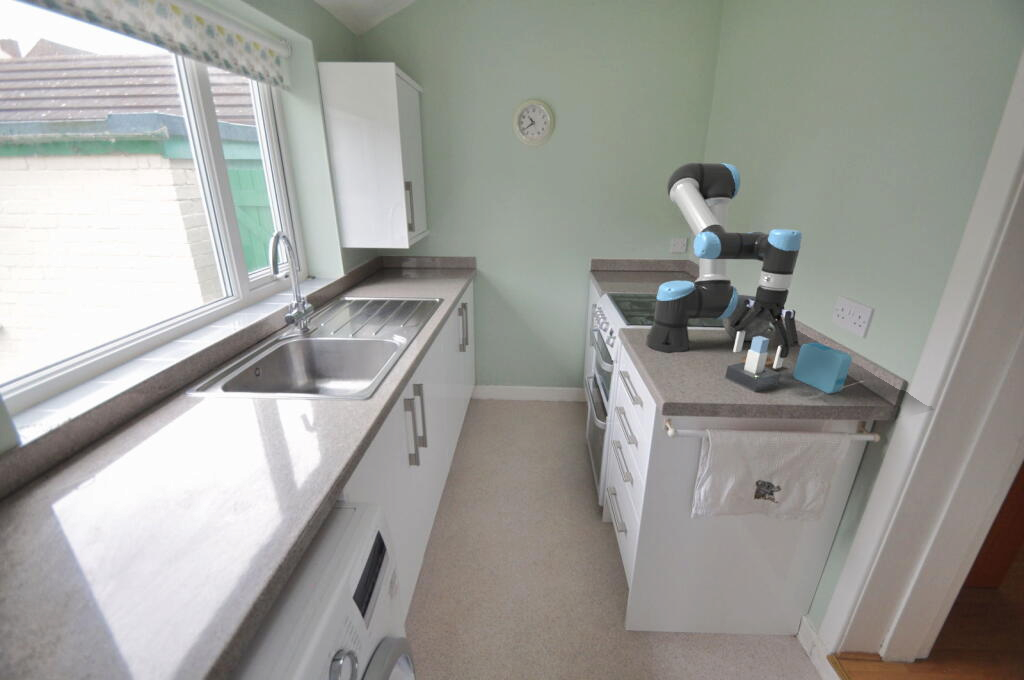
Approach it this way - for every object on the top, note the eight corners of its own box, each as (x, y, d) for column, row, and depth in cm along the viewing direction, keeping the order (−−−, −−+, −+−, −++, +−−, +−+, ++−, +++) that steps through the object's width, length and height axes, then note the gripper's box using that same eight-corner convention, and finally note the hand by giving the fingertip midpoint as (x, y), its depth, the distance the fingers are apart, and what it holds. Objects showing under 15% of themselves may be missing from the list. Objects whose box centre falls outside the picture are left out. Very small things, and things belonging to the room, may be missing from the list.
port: (724, 379, 132) (727, 364, 130) (746, 374, 136) (750, 359, 134) (754, 393, 123) (758, 378, 121) (777, 387, 127) (781, 372, 126)
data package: (841, 393, 124) (853, 355, 120) (830, 396, 123) (843, 357, 119) (801, 376, 135) (811, 340, 131) (791, 378, 133) (801, 342, 129)
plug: (742, 377, 130) (751, 336, 125) (750, 375, 131) (759, 335, 127) (752, 382, 127) (762, 341, 122) (761, 380, 128) (771, 339, 124)
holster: (740, 364, 143) (742, 356, 142) (757, 360, 146) (758, 352, 145) (763, 373, 136) (765, 365, 135) (779, 369, 139) (781, 361, 138)
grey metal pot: (707, 336, 168) (714, 299, 163) (727, 327, 179) (734, 292, 174) (755, 349, 156) (765, 309, 150) (773, 339, 167) (783, 301, 161)
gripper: (726, 279, 128) (712, 346, 135) (809, 299, 107) (788, 377, 115) (743, 277, 131) (729, 343, 138) (827, 296, 110) (806, 373, 118)
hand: (756, 359), depth 127 cm, fingers open, 12 cm apart
